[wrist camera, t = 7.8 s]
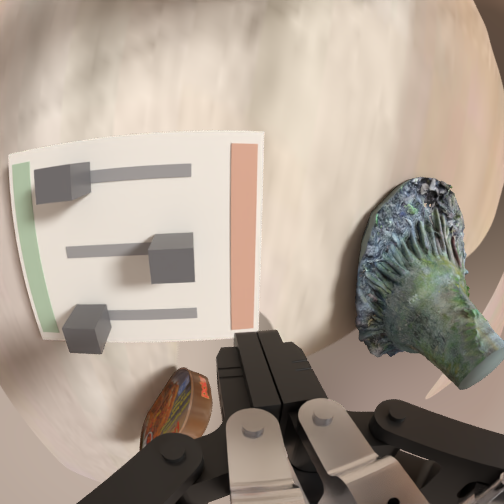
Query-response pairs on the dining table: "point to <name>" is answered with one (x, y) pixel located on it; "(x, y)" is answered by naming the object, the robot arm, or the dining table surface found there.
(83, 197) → the board
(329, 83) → the dining table surface
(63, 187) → the block
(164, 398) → the tin
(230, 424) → the robot arm
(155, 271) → the block
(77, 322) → the block
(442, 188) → the green bell-shaped piece
